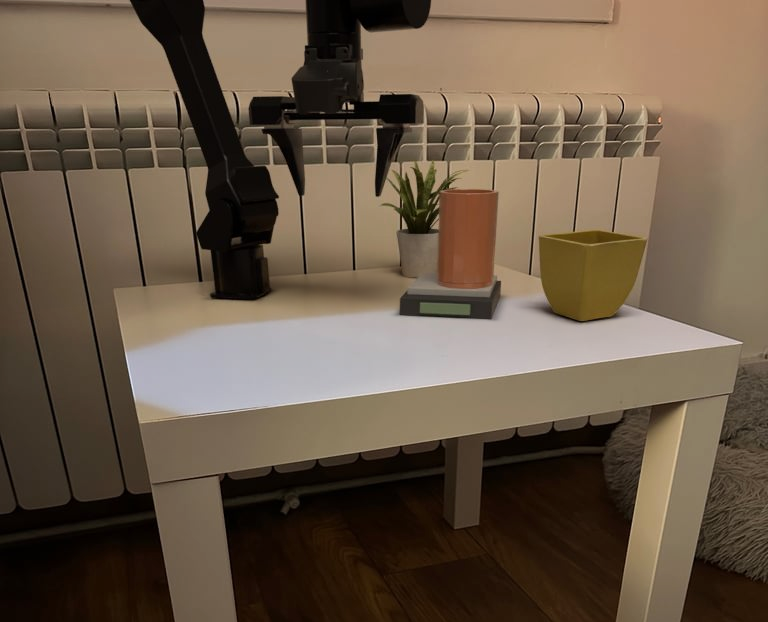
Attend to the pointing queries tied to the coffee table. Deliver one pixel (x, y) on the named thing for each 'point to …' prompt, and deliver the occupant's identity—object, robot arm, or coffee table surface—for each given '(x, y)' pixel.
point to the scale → (449, 299)
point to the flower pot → (589, 271)
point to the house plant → (419, 222)
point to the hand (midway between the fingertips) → (339, 196)
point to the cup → (467, 238)
